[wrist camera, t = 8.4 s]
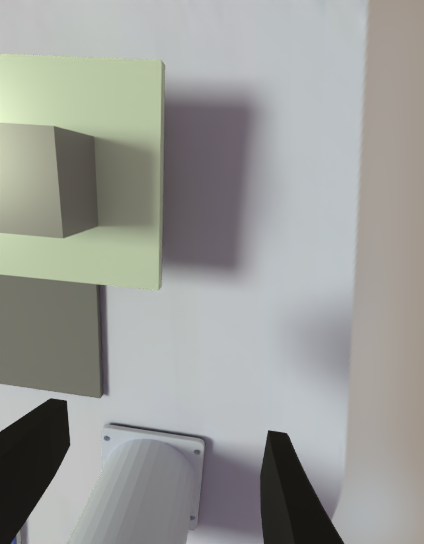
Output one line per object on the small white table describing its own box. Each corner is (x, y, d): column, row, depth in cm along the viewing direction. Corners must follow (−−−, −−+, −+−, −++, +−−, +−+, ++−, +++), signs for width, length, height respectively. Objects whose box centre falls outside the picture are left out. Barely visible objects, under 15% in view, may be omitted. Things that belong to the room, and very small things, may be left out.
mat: (102, 394, 23) (100, 398, 23) (-34, 374, 24) (-38, 378, 23) (98, 252, 20) (95, 254, 19) (-61, 235, 20) (-67, 236, 20)
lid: (161, 286, 16) (138, 316, 13) (-17, 268, 17) (-84, 292, 13) (165, 65, 13) (136, 26, 10) (-53, 56, 14) (-152, 16, 10)
